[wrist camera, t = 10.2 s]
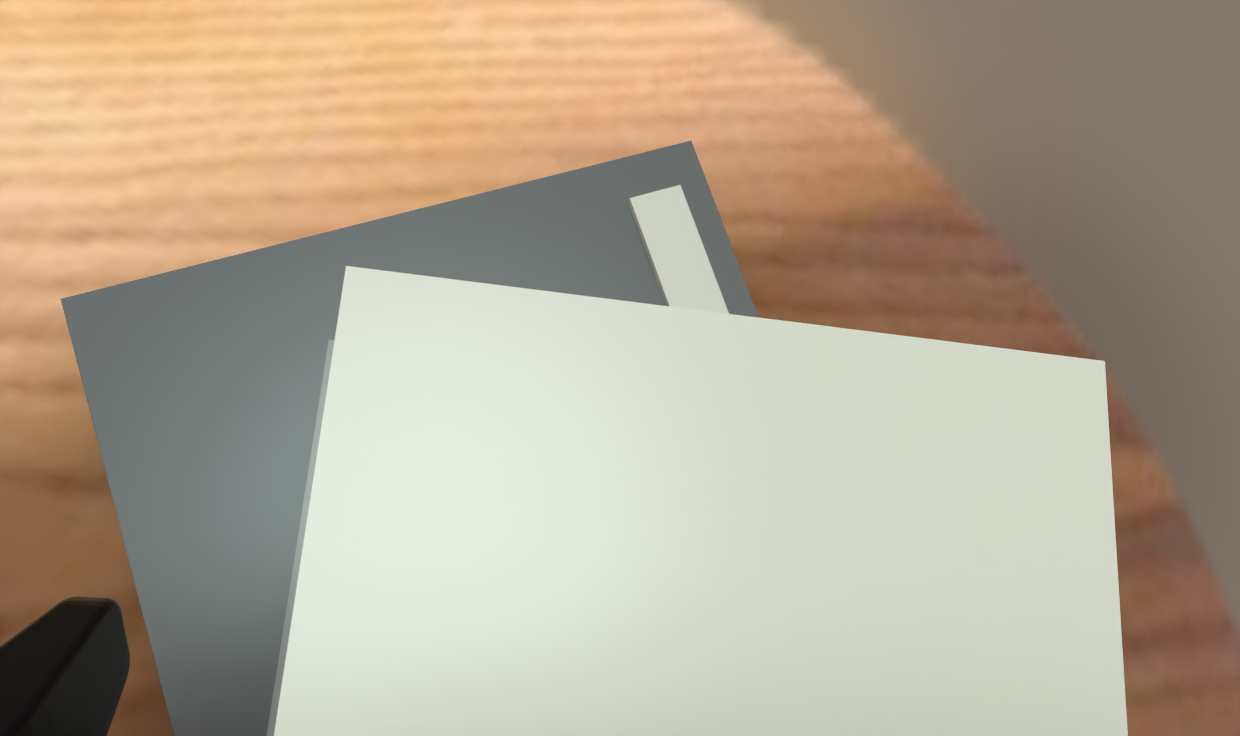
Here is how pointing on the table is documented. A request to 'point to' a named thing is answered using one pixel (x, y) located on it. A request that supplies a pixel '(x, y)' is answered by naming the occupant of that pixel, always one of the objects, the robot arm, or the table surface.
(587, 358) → the plug
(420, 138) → the table surface
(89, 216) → the table surface
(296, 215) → the table surface
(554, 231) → the port panel
